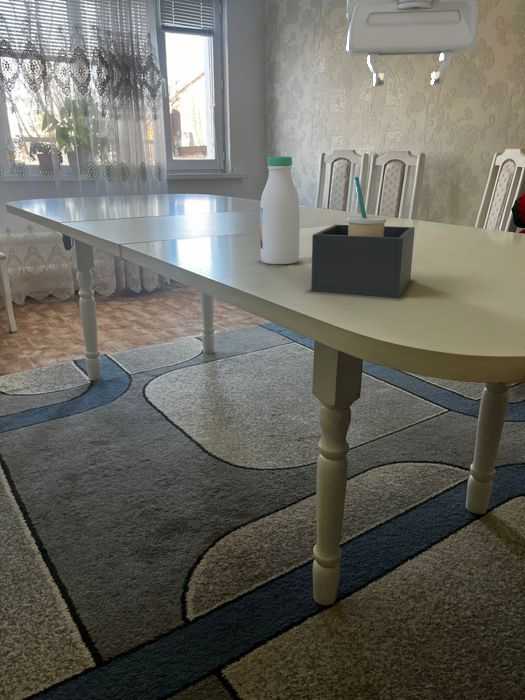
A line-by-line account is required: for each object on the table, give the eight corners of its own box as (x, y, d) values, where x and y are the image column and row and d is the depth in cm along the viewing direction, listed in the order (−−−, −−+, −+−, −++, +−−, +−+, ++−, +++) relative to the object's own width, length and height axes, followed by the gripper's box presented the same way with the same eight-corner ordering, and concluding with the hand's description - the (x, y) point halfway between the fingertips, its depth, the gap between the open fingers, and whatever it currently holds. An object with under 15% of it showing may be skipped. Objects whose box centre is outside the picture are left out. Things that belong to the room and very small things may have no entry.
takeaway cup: (384, 277, 91) (391, 176, 85) (378, 285, 85) (385, 177, 80) (349, 275, 93) (354, 175, 87) (341, 282, 87) (345, 177, 82)
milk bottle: (306, 261, 109) (308, 156, 103) (280, 266, 104) (280, 156, 97) (279, 256, 115) (279, 156, 108) (252, 261, 110) (251, 156, 103)
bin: (410, 279, 93) (414, 227, 90) (398, 298, 81) (403, 238, 78) (333, 274, 98) (334, 224, 95) (311, 290, 86) (312, 234, 83)
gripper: (348, -17, 82) (345, 84, 87) (486, -22, 81) (475, 81, 86) (345, -6, 88) (342, 88, 93) (473, -10, 87) (464, 86, 91)
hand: (407, 85), depth 89 cm, fingers open, 8 cm apart
